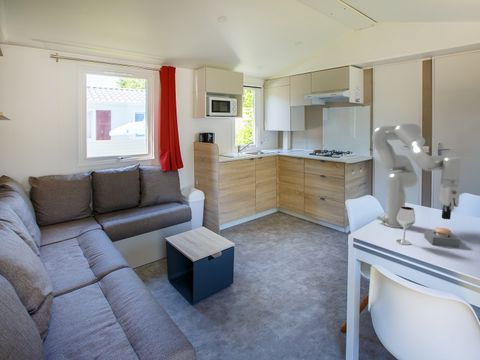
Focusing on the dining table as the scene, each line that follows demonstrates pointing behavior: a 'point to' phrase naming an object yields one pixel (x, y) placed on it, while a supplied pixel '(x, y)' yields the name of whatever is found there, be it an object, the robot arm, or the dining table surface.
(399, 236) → the dining table surface
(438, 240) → the button box
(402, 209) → the wineglass
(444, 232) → the button
